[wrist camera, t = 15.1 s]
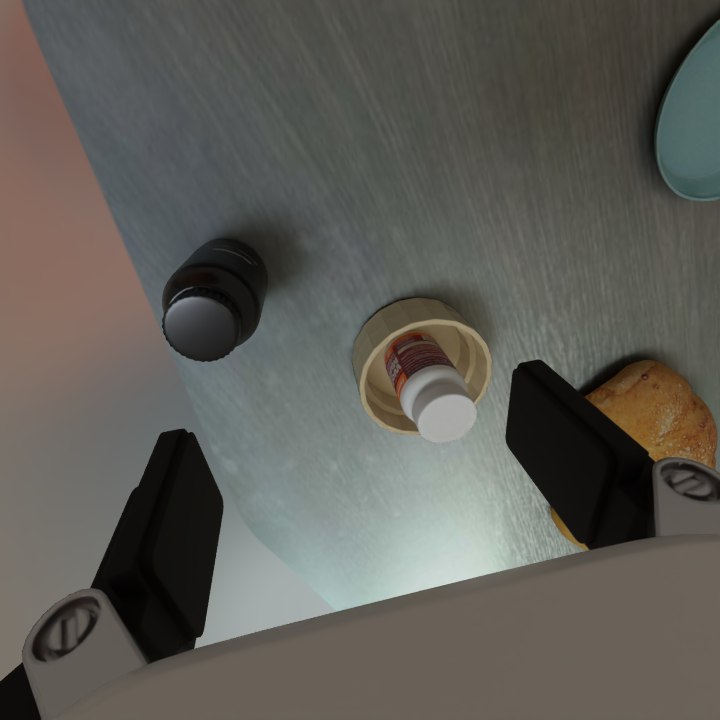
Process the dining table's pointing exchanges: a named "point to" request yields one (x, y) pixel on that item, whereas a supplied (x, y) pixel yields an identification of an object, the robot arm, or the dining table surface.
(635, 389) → the bread
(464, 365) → the beige round bowl
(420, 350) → the pill bottle
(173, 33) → the dining table surface
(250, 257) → the supplement bottle
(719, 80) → the saucer
